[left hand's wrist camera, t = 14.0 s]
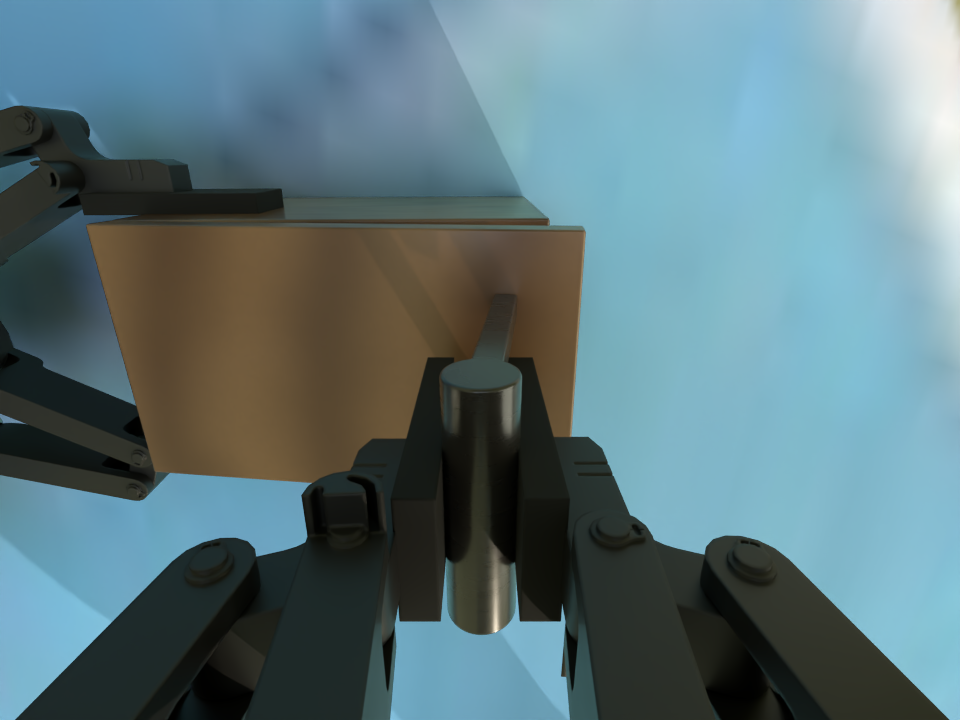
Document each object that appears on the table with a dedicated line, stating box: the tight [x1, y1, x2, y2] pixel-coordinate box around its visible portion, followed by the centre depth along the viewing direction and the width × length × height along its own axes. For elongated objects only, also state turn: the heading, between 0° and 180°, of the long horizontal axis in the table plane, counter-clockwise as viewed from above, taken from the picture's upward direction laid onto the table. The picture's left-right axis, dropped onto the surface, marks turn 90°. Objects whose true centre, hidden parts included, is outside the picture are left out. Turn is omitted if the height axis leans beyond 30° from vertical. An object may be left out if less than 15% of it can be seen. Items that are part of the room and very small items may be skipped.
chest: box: [112, 197, 550, 226], centre depth 24 cm, size 15×9×10 cm, turn 90°
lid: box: [86, 221, 586, 635], centre depth 14 cm, size 16×9×8 cm, turn 90°
